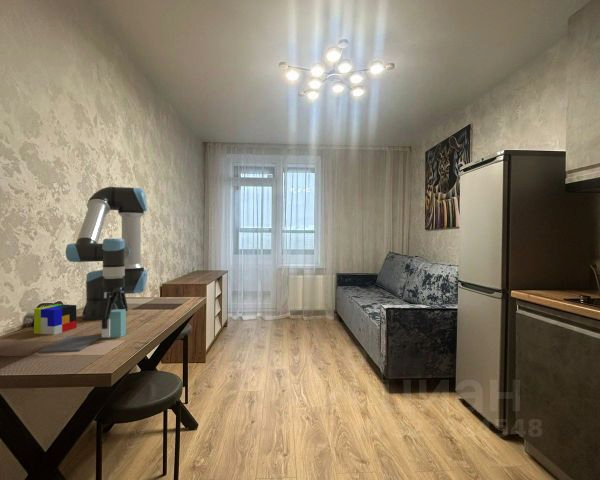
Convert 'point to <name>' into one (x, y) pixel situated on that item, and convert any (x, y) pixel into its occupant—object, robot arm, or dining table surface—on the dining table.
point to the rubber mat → (71, 344)
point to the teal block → (117, 323)
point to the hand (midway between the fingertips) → (113, 332)
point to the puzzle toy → (54, 319)
